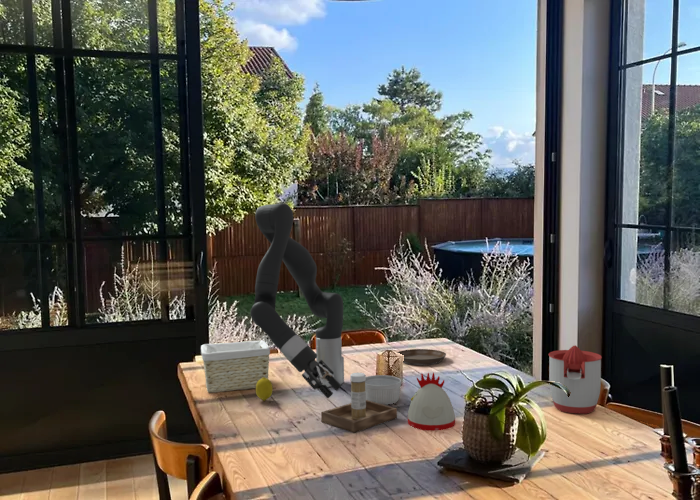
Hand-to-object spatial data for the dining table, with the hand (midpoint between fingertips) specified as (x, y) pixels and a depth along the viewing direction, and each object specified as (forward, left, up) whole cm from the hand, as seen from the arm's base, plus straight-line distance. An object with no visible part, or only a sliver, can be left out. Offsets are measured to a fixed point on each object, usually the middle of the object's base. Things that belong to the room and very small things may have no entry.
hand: (334, 392), depth 197 cm
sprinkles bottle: (-3, +7, -8) cm, 11 cm away
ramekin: (-23, -2, -8) cm, 24 cm away
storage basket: (0, -54, -8) cm, 54 cm away
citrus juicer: (-57, +48, -8) cm, 75 cm away
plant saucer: (-75, -29, -8) cm, 81 cm away
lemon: (+4, -30, -8) cm, 32 cm away
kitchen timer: (-17, +24, -8) cm, 30 cm away
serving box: (-4, +7, -8) cm, 11 cm away
